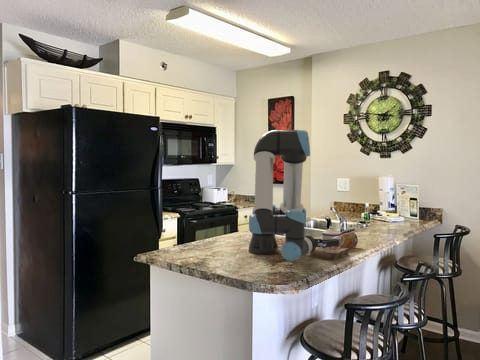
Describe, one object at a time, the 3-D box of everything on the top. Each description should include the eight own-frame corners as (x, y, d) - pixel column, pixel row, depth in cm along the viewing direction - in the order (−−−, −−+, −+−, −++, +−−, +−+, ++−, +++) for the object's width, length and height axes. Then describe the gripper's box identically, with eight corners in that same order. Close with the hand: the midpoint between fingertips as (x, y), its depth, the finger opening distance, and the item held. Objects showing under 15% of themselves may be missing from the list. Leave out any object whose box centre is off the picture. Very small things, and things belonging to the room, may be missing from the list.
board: (332, 260, 178) (332, 254, 178) (309, 256, 186) (310, 250, 186) (348, 254, 190) (348, 248, 190) (326, 250, 198) (326, 244, 198)
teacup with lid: (330, 254, 177) (330, 229, 177) (317, 250, 186) (317, 226, 185) (350, 251, 183) (350, 227, 182) (337, 248, 191) (337, 224, 190)
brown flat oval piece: (339, 251, 197) (339, 235, 197) (334, 250, 200) (334, 234, 200) (358, 248, 206) (358, 232, 206) (353, 246, 209) (353, 231, 208)
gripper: (278, 250, 170) (298, 242, 188) (333, 258, 157) (349, 248, 174) (278, 233, 170) (298, 227, 188) (333, 239, 156) (349, 232, 174)
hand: (323, 237), depth 181 cm, fingers open, 13 cm apart
